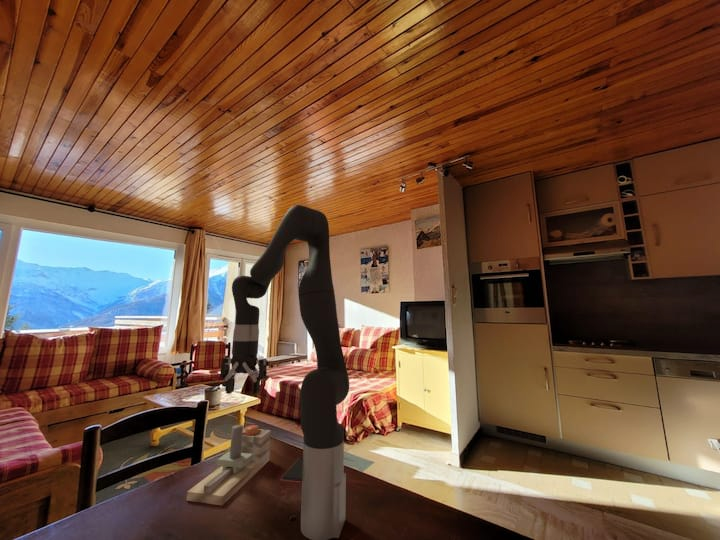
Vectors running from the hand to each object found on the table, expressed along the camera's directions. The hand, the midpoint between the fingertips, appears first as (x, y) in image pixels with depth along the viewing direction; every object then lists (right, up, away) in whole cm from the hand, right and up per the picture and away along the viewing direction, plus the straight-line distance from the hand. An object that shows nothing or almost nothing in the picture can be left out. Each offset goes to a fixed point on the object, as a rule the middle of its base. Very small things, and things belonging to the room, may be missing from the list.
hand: (241, 393), depth 87 cm
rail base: (0, -22, -6) cm, 22 cm away
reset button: (+1, -16, +4) cm, 16 cm away
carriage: (0, -19, -5) cm, 20 cm away
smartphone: (+18, -23, -1) cm, 29 cm away
